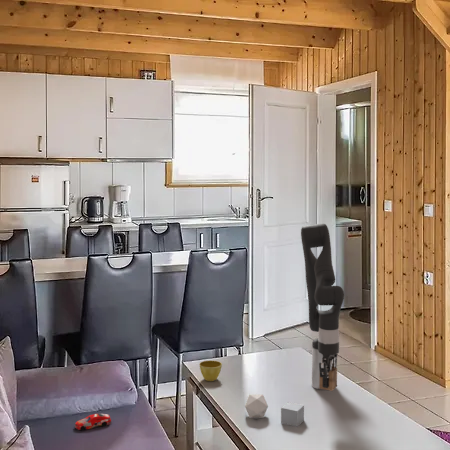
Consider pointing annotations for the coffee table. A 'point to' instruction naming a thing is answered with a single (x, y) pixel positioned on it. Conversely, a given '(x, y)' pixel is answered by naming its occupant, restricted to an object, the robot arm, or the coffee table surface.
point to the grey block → (292, 414)
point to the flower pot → (210, 369)
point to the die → (256, 406)
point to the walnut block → (330, 380)
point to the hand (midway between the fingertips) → (328, 384)
